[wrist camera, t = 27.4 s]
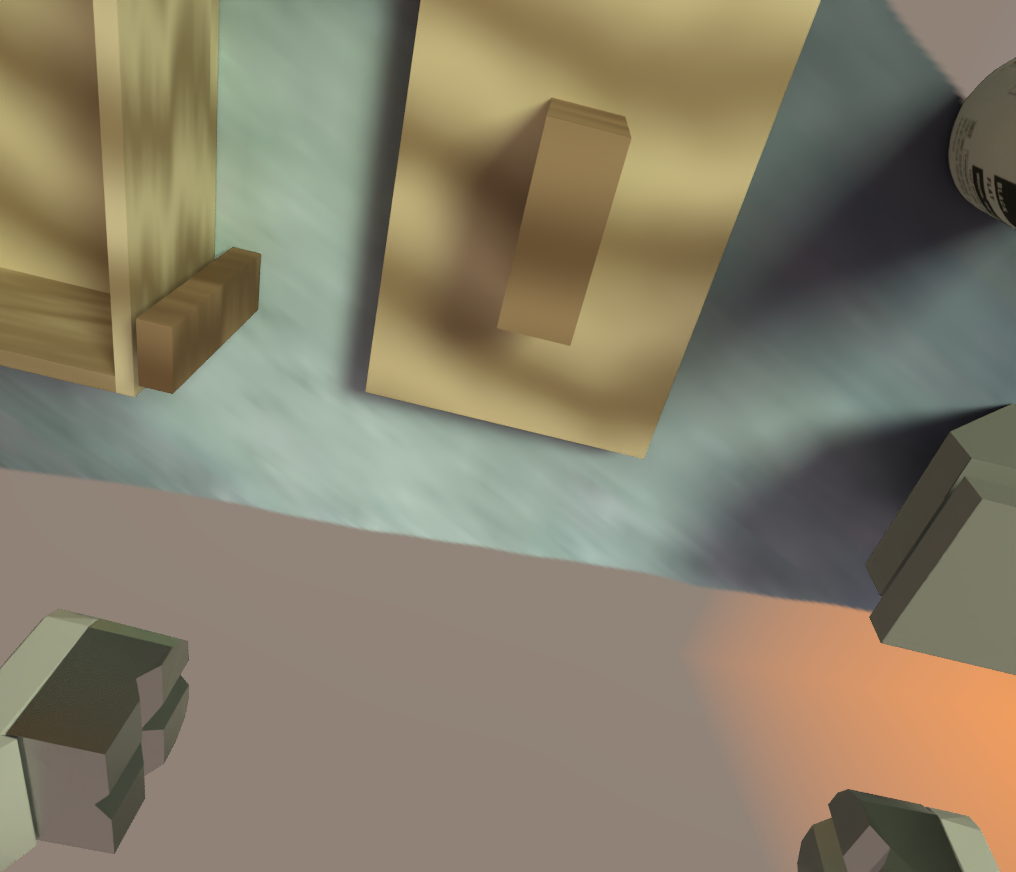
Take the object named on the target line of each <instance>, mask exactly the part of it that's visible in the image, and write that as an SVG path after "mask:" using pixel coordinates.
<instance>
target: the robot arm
mask: <svg viewBox="0 0 1016 872" xmlns="http://www.w3.org/2000/svg"><path fill="white" fill-rule="evenodd" d="M188 660H189V654H188V641H186V640H182V639H178V638H174V637H170V636H166V635H163V634H159V633H155V632H151V631H147V630H143V629H139V628H135V627H131V626H127V625H123V624H120V623H116V622H112V621H108V620H104V619H100V618H95V617H91V616H87V615H83V614H79V613H74V612H70V611H66V610H62V609H57V610H56V611H54V612H52V613H51V614H49V615H48V616H46V617H45V618H43V619H42V620H41V621H40V622H39V624H38V625H37V626H36V627H35V628H34V629H33V631H32V632H31V633H30V634H29V635H28V636H27V638H26V639H25V640H24V641H23V642H22V643H21V644H20V645H19V647H18V648H17V649H16V650H15V651H14V652H13V654H12V655H11V656H10V657H9V658H8V659H7V661H6V662H5V663H4V664H3V665H2V666H1V667H0V872H1V871H3V870H4V869H5V868H7V867H8V866H9V865H11V864H12V863H13V862H15V861H16V860H17V859H19V858H20V857H21V856H22V855H24V854H25V853H27V852H28V851H29V850H31V849H32V848H33V847H34V846H36V844H37V842H36V840H42V841H46V842H52V843H57V844H63V845H68V846H73V847H79V848H84V849H89V850H95V851H100V852H106V853H112V854H115V852H116V850H117V848H118V847H119V845H120V843H121V841H122V839H123V838H124V835H125V834H126V832H127V830H128V829H129V827H130V825H131V823H132V821H133V819H134V817H135V816H136V814H137V812H138V810H139V809H140V807H141V805H142V803H143V801H144V799H145V785H144V783H145V782H144V776H145V775H147V774H148V773H150V772H151V771H153V770H155V769H156V768H158V767H159V766H161V765H162V764H164V762H165V761H166V759H167V757H168V755H169V753H170V751H171V749H172V748H173V746H174V744H175V742H176V739H177V737H178V734H179V731H180V729H181V726H182V723H183V721H184V718H185V713H186V708H187V704H188V697H189V685H188V683H187V682H186V681H185V680H184V678H183V677H182V676H181V675H180V674H181V673H182V671H183V669H184V667H185V666H186V664H187V662H188ZM828 806H829V809H830V813H831V816H832V818H829V819H827V820H824V821H822V822H819V823H817V824H814V825H813V826H811V828H810V829H809V831H808V832H807V834H806V835H805V837H804V838H803V840H802V841H801V847H800V852H799V857H798V862H797V866H798V872H1000V870H999V868H998V866H997V864H996V861H995V859H994V857H993V855H992V853H991V851H990V849H989V847H988V845H987V843H986V840H985V838H984V836H983V834H982V832H981V830H980V828H979V827H978V826H977V825H976V824H975V823H974V822H973V820H972V819H971V818H970V817H968V816H964V815H960V814H957V813H952V812H948V811H943V810H938V809H934V808H929V807H924V806H923V805H921V804H916V803H911V802H907V801H902V800H897V799H892V798H887V797H883V796H878V795H873V794H869V793H863V792H859V791H855V790H850V789H847V790H844V791H842V792H838V793H837V794H836V795H835V797H834V798H833V799H832V800H831V802H830V803H829V804H828Z"/></svg>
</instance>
